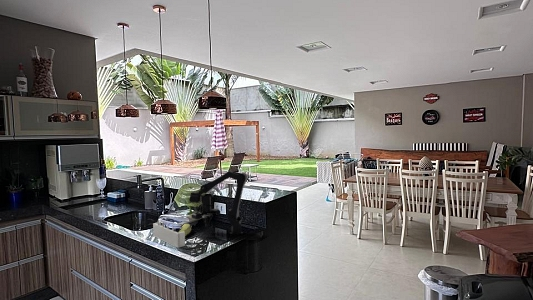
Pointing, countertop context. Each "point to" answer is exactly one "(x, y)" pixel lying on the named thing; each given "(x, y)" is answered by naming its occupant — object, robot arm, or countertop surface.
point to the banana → (185, 229)
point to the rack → (168, 235)
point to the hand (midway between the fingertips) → (206, 226)
